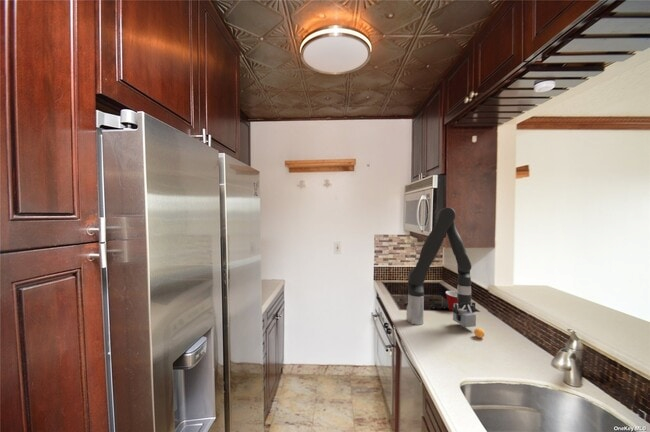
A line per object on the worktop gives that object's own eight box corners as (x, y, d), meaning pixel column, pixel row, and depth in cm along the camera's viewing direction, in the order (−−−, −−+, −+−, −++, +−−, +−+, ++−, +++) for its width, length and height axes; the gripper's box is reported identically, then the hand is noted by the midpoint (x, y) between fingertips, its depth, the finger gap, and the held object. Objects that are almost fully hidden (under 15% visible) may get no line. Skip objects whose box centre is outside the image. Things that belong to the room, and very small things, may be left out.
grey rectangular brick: (465, 327, 152) (465, 315, 152) (453, 319, 163) (453, 309, 163) (475, 326, 154) (475, 314, 154) (462, 319, 164) (462, 308, 164)
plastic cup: (455, 313, 180) (455, 296, 180) (441, 308, 189) (442, 292, 189) (465, 311, 185) (466, 294, 185) (452, 306, 194) (452, 290, 194)
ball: (478, 340, 143) (479, 330, 143) (471, 335, 148) (472, 326, 148) (486, 339, 144) (486, 330, 144) (479, 335, 149) (479, 326, 149)
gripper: (469, 290, 163) (469, 316, 163) (449, 291, 160) (449, 318, 160) (479, 293, 156) (479, 321, 156) (458, 295, 153) (457, 323, 153)
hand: (464, 320), depth 158 cm, fingers closed on grey rectangular brick, 6 cm apart
